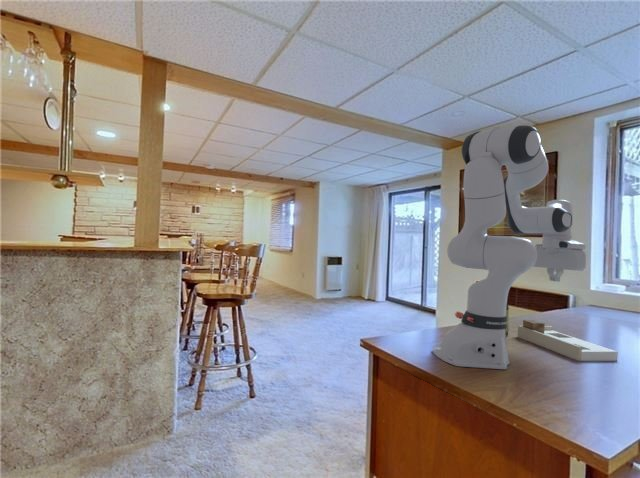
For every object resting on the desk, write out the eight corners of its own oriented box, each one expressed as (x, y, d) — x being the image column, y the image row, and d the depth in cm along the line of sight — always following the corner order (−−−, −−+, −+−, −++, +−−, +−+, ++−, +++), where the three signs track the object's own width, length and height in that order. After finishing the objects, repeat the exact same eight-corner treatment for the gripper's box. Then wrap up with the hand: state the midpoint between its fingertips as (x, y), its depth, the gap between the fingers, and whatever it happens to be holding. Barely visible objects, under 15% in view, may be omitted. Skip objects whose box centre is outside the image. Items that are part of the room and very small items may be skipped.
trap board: (578, 360, 105) (579, 347, 105) (517, 336, 131) (518, 325, 131) (617, 360, 108) (617, 347, 108) (549, 336, 133) (550, 326, 133)
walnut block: (532, 333, 125) (533, 323, 125) (522, 330, 130) (523, 320, 130) (544, 333, 126) (544, 323, 126) (533, 330, 131) (534, 320, 131)
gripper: (527, 243, 131) (524, 277, 130) (574, 243, 110) (572, 284, 110) (540, 244, 132) (538, 278, 131) (590, 244, 111) (588, 285, 111)
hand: (554, 281), depth 120 cm, fingers closed
